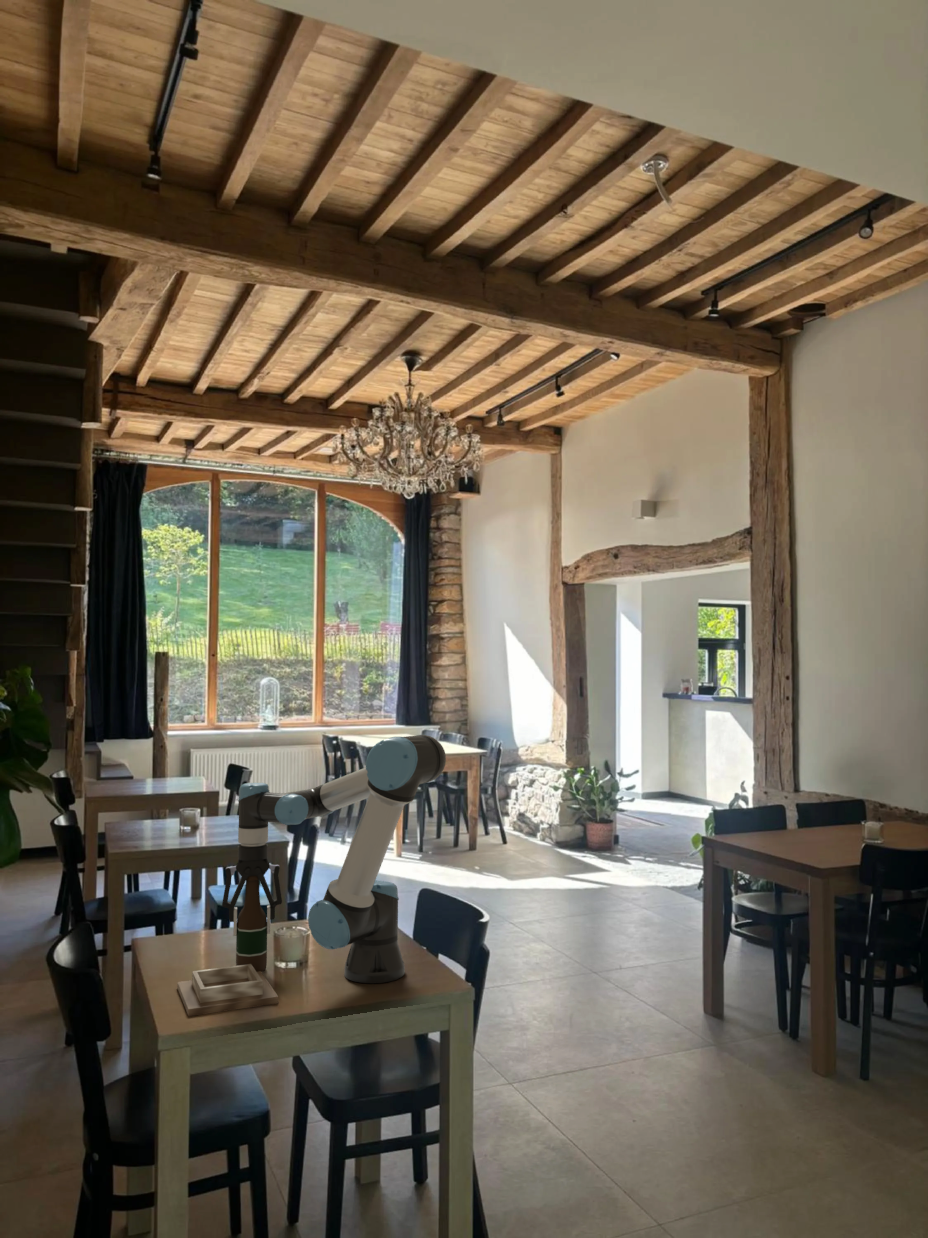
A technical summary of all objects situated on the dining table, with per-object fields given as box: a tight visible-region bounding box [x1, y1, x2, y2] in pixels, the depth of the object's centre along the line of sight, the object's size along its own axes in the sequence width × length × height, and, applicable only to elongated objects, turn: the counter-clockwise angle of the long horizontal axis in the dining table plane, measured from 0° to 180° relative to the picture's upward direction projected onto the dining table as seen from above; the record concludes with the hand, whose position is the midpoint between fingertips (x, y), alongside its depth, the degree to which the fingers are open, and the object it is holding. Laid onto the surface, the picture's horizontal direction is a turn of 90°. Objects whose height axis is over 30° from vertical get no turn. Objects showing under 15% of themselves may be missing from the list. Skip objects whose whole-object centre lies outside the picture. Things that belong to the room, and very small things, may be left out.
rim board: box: [177, 964, 279, 1017], centre depth 217 cm, size 20×20×4 cm
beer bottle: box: [235, 876, 268, 973], centre depth 236 cm, size 8×8×24 cm
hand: (251, 933), depth 236 cm, fingers closed on beer bottle, 8 cm apart
